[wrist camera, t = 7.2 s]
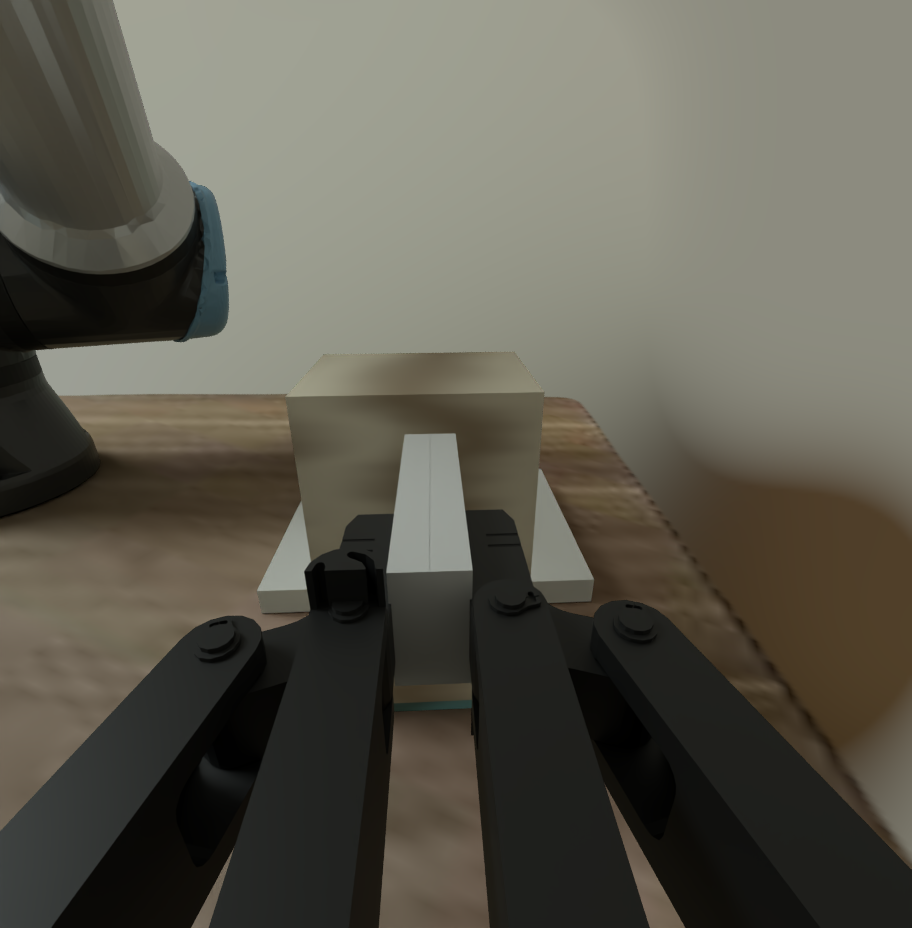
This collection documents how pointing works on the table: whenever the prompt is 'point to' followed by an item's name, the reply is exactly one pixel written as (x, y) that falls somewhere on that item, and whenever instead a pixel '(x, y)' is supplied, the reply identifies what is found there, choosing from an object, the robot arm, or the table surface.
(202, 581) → the table surface
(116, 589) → the table surface
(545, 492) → the pad
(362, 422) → the birch block
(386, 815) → the robot arm
